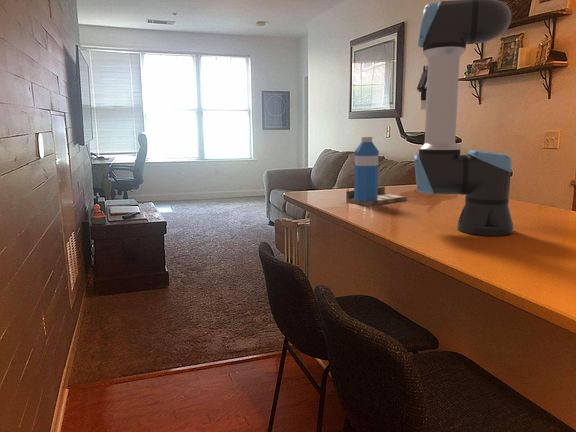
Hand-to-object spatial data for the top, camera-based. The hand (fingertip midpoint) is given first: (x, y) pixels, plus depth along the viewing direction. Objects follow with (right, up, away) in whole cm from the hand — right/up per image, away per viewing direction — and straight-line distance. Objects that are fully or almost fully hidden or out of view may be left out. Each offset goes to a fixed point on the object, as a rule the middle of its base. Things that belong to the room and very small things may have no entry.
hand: (435, 109), depth 178 cm
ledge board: (-21, -35, +11) cm, 43 cm away
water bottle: (-26, -35, +6) cm, 44 cm away
